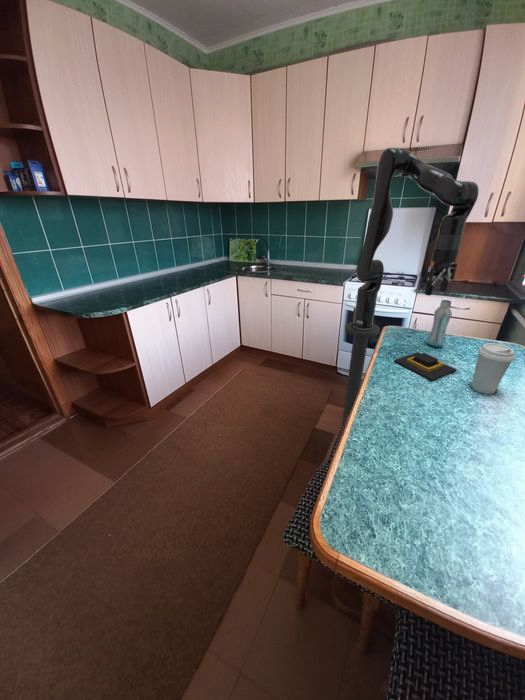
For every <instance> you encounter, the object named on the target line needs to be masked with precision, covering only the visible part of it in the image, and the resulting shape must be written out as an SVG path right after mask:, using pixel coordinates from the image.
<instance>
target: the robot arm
mask: <svg viewBox="0 0 525 700" xmlns="http://www.w3.org/2000/svg"><path fill="white" fill-rule="evenodd" d="M394 177H395V178H396V177H403V178H407V179H410V180H412V181H414V183H415V184H416V185H417V186H418V187H419V188H420V189H421V190H423V191H424V192H427V193H429V194H430V195H432V196H434V197H435V198H436V199H437V200H438V201H440V203H442V204H444V205H446V206H449V207H451V208H452V209H451V210H450V213H447V214H446V215H444V216H443V217H442V220H441V222H440V226H439V227H440V228H439V231H438V235H437V237H436V240H435V244H434V249H433V253H432V257H431V261H432V262H433V265H427V266H426V269H425V272H424V277H423V280H422V284H425V290H424V295H425V296H431V295H432V294H433V290H434V285H435V284H436V282H437V281H438V280H440V279H441V282H440V287H439V292H441V293H446V292H447V290H448V286H449V283H450V282H451V281H452V280H454V279H455V276H456V271H457V267H458V263H456V262H457V259H458V257H459V252H460V249H461V248H460V247H461V245H462V241H463V234H464V230H465V226H466V223H467V219H468V218H469V216H470V214H471V212H472V211H473V208H474V207H475V205H476V203H477V200H478V198H479V190H480V189H479V185H478V184H477V183H476V182H475V181H469V180H468V181H467V180H465V181H464V180H458V179H455V178H454V177H453V175H452V174H450V173H449V172H446V171H445V170H442V169H439V168H437V167H435V166H433V165H430V164H428V163H426V162H424V161H423V160H421V159H420V158H418V157H417V156H416V155H415V154H414V153H412V152H411V151H409V149H407V148H401V147H388V148H387V147H386V149H385V150H383V152H381V155H380V156H379V159H378V162H377V168H376V177H375V184H374V191H373V198H372V204H371V208H370V213H369V217H368V221H367V227H366V228H367V229H366V232H365V237H364V242H363V246H362V249H361V253H360V256H359V258H358V262H357V265H356V278H357V279H358V281H360V282H365V283H363V284H361V286H359V287H358V288H357V294H356V299H355V300H356V301H355V307H354V308H353V312H352V318H351V319H352V320H351V322H352V326H353V328H355V329H357V330H362V331H368V330H371V329H372V325H373V324H374V318H375V313H376V307H377V301H378V295H379V294H378V293H379V292H380V290H381V286H382V282H383V277H384V273H385V272H384V271H385V267H384V263H383V262H382V261H381V260H380V259H374V257H375V254H376V251H377V250H378V248H379V247H380V245H381V244H382V242H383V241H384V240H385V239H386V237H387V236H388V234H389V232H390V229H391V225H392V222H393V217H394V208H393V203H392V202H393V201H392V198H391V185H392V181H393V178H394Z"/></svg>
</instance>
